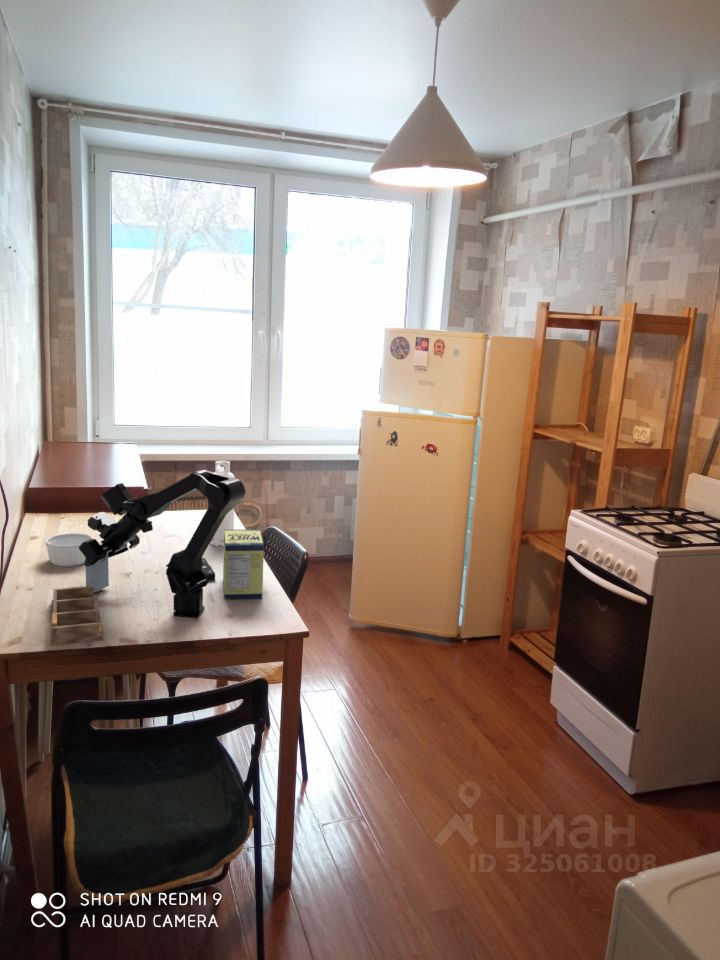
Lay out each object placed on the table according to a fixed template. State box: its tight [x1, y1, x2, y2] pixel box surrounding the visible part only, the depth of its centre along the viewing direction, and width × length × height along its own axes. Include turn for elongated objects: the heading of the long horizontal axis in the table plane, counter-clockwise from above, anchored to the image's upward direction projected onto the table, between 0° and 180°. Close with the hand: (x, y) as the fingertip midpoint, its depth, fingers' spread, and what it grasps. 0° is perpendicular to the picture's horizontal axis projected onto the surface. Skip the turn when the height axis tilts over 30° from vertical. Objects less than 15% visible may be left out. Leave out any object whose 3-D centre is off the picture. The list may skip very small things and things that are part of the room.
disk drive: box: [187, 557, 216, 583], centre depth 210 cm, size 10×3×15 cm
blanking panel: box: [84, 541, 110, 593], centre depth 191 cm, size 3×6×12 cm, turn 162°
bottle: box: [209, 460, 235, 546], centre depth 238 cm, size 8×8×28 cm
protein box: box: [222, 529, 265, 600], centre depth 199 cm, size 10×16×16 cm
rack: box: [50, 585, 103, 646], centre depth 173 cm, size 11×25×5 cm, turn 23°
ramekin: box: [45, 532, 94, 567], centre depth 214 cm, size 13×13×7 cm
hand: (92, 562), depth 191 cm, fingers closed on blanking panel, 5 cm apart
